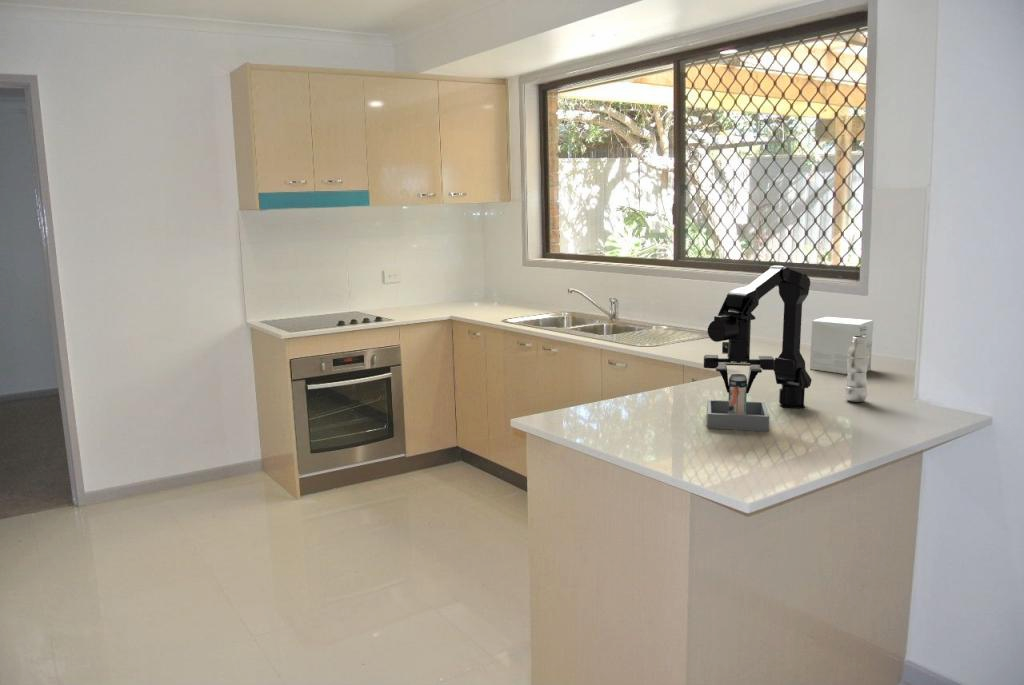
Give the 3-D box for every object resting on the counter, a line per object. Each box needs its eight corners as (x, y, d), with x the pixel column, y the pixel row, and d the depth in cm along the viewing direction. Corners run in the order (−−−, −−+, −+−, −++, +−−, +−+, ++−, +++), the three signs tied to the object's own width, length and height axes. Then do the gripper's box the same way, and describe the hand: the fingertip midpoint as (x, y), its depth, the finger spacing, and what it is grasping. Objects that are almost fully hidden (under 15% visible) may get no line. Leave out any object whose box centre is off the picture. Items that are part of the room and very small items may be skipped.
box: (764, 415, 231) (764, 401, 230) (768, 431, 216) (769, 416, 215) (706, 412, 235) (707, 399, 234) (707, 428, 219) (707, 413, 219)
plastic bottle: (867, 399, 247) (871, 335, 243) (866, 405, 241) (870, 339, 237) (844, 398, 249) (848, 334, 246) (843, 403, 243) (847, 337, 240)
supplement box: (871, 370, 288) (874, 319, 285) (857, 376, 279) (860, 324, 276) (823, 363, 300) (826, 315, 297) (808, 369, 291) (811, 319, 287)
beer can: (725, 415, 227) (726, 373, 225) (742, 414, 228) (743, 373, 226) (731, 420, 223) (732, 377, 220) (748, 419, 223) (749, 376, 221)
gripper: (772, 332, 227) (770, 387, 230) (704, 331, 231) (702, 384, 234) (776, 339, 216) (773, 396, 219) (704, 338, 220) (703, 394, 223)
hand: (737, 392), depth 224 cm, fingers closed on beer can, 5 cm apart
